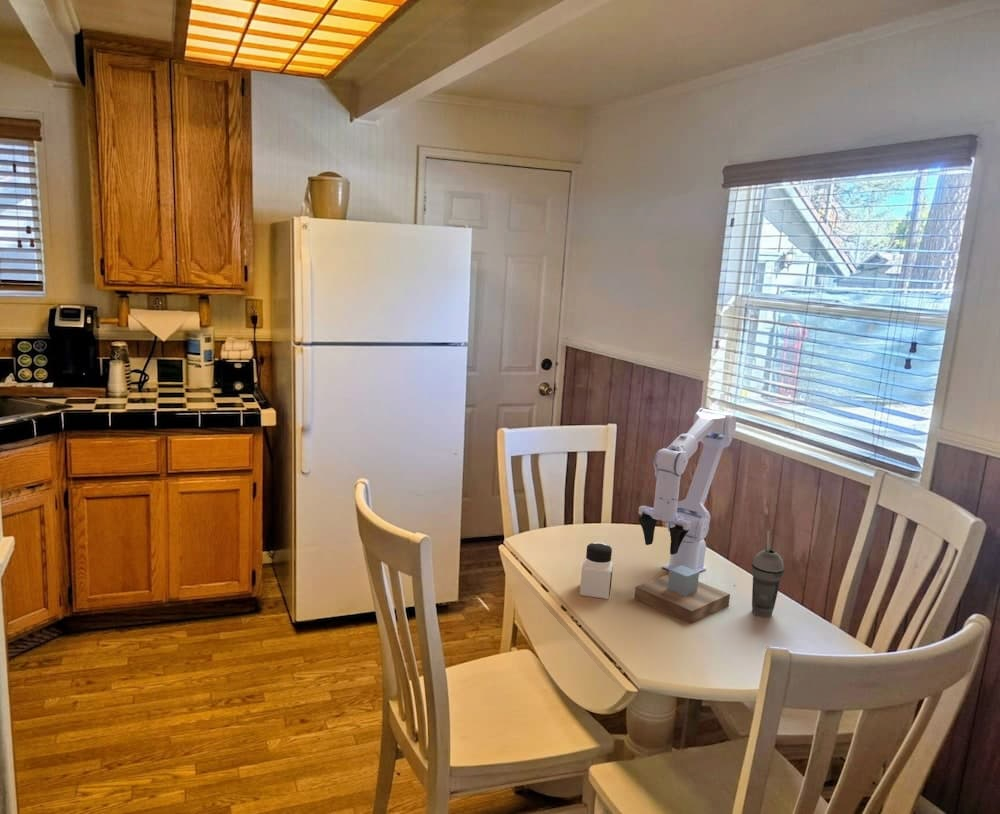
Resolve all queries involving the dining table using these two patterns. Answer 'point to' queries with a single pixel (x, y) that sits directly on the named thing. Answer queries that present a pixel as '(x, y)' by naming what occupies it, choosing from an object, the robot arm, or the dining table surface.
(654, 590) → the walnut plinth
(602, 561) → the medicine bottle
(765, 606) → the beverage cup
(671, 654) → the dining table surface
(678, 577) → the slate block
